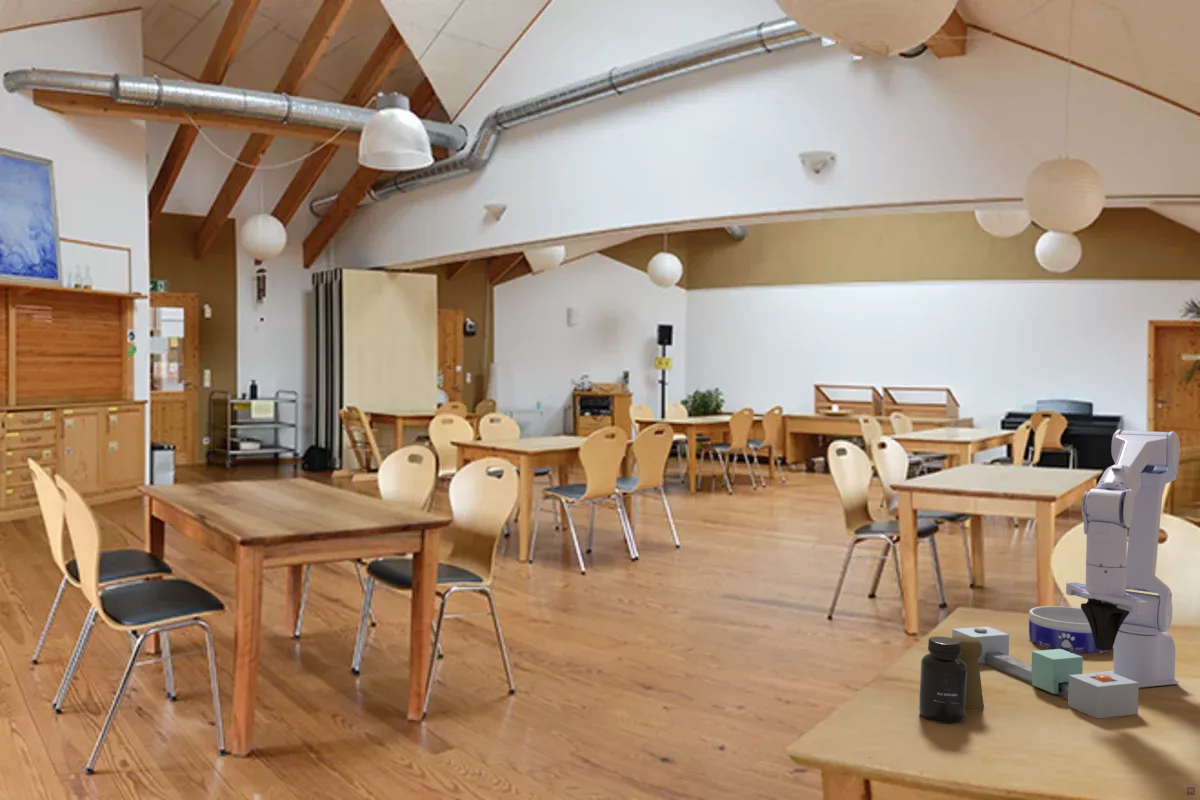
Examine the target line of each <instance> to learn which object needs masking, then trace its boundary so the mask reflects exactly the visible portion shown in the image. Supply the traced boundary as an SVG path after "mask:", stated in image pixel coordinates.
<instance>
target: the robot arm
mask: <svg viewBox="0 0 1200 800" xmlns="http://www.w3.org/2000/svg"><path fill="white" fill-rule="evenodd" d="M1180 446H1181V443H1180V437H1179V435H1178V434H1177V433H1176V432H1175V431H1171V430H1170V431H1169V432H1168V431H1148V430H1147V431H1145V430H1143V431H1142V430H1124V429H1123V428H1122V429H1117V430H1116V431H1115V432H1114V433H1113V435H1112V438H1111V448H1110V449H1111V451H1110V452H1111V457H1112V459H1113V462H1114V464H1113V465H1111V466H1108V467H1107V468H1106V469H1105V470H1104V472H1103V473H1102V476H1101V477H1100V478H1099V481H1098V483H1097V484H1096V485H1095V488H1091V489H1090V490H1089V491H1088V490H1086V491H1085V492H1084V494H1083V497H1082V501H1081V515H1082V517H1081V518H1082V520H1083V533H1084V535H1086V548H1085V550H1086V551H1085V555H1086V556H1085V583H1082V582H1081V583H1080V582H1077V581H1075V582H1073V581H1071V582H1066V586H1065V587H1066V588H1065V589H1066V590H1065V593H1066V595H1068V596H1075V597H1079V598H1082V599H1086V600H1087V601H1086V602H1085V603H1084V602H1083V603H1081V604H1080V608H1081V609H1082V610H1083V612H1084V614H1085V616H1086V618H1087V620H1088V622H1089V625H1090V627H1091V631H1092V634H1093V638H1094V642H1095V646H1096V649H1099V650H1102V651H1105V650H1110V651H1112V652H1113V653H1112V654H1113V655H1112V656H1113V658H1112V661H1113V662H1112V663H1113V664H1112V670H1108V671H1109V672H1111V673H1114V674H1117V675H1119V676H1122V677H1125V678H1128V679H1130V680H1133V681H1136V682H1138V683H1139V689H1141V688H1149V687H1150V688H1151V687H1157V686H1159V687H1160V686H1168V685H1178V684H1179V680H1177V679H1175V678H1176V677H1175V676H1176V675H1175V674H1176V643H1175V641H1174V639H1173V637H1172V635H1171V634H1170V633H1169V632H1168V630H1169V629H1170V628H1171V625H1172V619H1173V603H1172V601H1173V599H1172V597H1173V593H1172V591H1171V589H1170V587H1169V586H1168V585H1167V584H1166V583H1165V582H1164V581H1162V580H1161V579H1160V578H1158V577H1157V576H1156V571H1157V559H1158V547H1159V537H1160V528H1161V527H1160V526H1161V514H1162V503H1163V495H1164V492H1165V488H1166V485H1167V484H1169V483H1172V482H1174V481H1176V480H1177V475H1178V474H1179V465H1180V456H1181V455H1180V452H1181V447H1180ZM1128 528H1129V529H1128ZM1128 531H1129V532H1128ZM1130 590H1131V591H1130ZM1143 592H1145V593H1143ZM1151 593H1153V594H1151ZM1108 671H1104V672H1108Z"/></svg>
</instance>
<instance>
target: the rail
mask: <svg viewBox="0 0 1200 800" xmlns="http://www.w3.org/2000/svg"><path fill="white" fill-rule="evenodd" d="M985 664H986V665H987V664H988V666H989V667H992V668H994V667H995V669H996V670H999V671H1002V672H1004V673H1006V674H1008V675H1011V676H1013V677H1016V678H1017V679H1020V680H1023V681H1024V682H1027V683H1029V684H1032V674H1031V670H1032V664H1030V663H1028V662H1025V661H1023V660H1020V659H1018V658H1015V657H1013V656H1010V655H1009V656H1008V655H1006V654H1003V653H1001V652H994V653H986V663H985ZM1068 684H1069V682H1062V683H1058V694H1056V695H1058V696H1060V697H1062V698H1065V699H1066V700H1068Z"/></svg>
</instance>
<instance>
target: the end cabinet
mask: <svg viewBox="0 0 1200 800" xmlns="http://www.w3.org/2000/svg"><path fill="white" fill-rule="evenodd" d="M1109 671H1110V670H1108V672H1105V671H1100V672H1099V671H1098V672H1087V673H1082V674H1076V675H1069V684H1068V699H1067V706H1068V707H1070V708H1071V709H1075V710H1076V711H1079V712H1081V713H1084V714H1086V715H1087V716H1090V717H1093V718H1095V719H1104V718H1114V717H1124V716H1133V715H1138V714H1139V692H1140V691H1139V689H1140V688H1139V683H1138V682H1136V681H1133V680H1130V679H1128V678H1125V677H1122V676H1119V675H1117V674H1114V673H1111V672H1109ZM1097 674H1102V675H1107V676H1110V677H1111V682H1101V681H1098V680H1096V675H1097Z"/></svg>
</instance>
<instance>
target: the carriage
mask: <svg viewBox="0 0 1200 800" xmlns="http://www.w3.org/2000/svg"><path fill="white" fill-rule="evenodd" d="M1083 657H1084V656H1081V655H1079V654H1077V653H1071V652H1068V651H1065V650H1062V649H1045V650H1044V649H1043V650H1042V649H1041V650H1033V651H1032V650H1031V665H1032V670H1031V674H1032V683H1031V685H1032V686H1034V687H1036V688H1039V689H1041V690H1044V691H1045V692H1048V693H1051V694H1053V695H1057V694H1058V683H1062V682H1069V675H1076V674H1083V667H1084V666H1083V665H1084V663H1083V662H1084V660H1083V659H1084V658H1083Z"/></svg>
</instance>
